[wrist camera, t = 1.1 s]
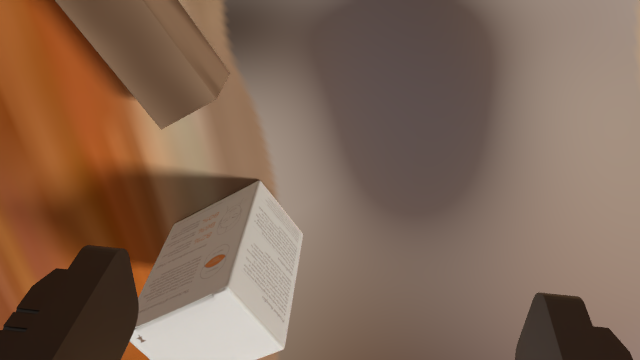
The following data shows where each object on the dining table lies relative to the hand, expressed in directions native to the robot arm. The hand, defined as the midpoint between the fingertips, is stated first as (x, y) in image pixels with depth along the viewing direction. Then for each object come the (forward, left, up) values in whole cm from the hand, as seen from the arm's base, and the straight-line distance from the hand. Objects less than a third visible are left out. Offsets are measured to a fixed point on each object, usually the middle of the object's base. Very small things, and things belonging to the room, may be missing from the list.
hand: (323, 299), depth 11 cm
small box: (+16, +11, -24) cm, 30 cm away
